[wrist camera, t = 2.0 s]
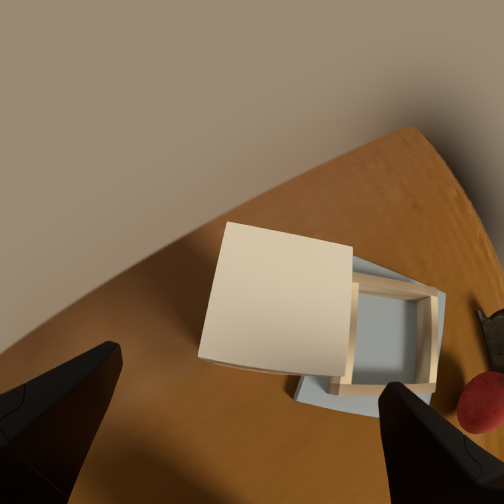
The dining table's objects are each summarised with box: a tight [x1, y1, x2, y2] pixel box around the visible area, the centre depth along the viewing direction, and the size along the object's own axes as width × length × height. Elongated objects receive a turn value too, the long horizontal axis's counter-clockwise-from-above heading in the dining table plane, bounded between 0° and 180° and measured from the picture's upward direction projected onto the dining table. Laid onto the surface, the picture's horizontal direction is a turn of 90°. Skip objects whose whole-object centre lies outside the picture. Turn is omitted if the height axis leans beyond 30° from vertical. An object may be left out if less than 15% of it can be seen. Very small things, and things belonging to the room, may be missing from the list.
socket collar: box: [327, 272, 438, 396], centre depth 18 cm, size 9×9×2 cm
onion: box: [457, 372, 504, 434], centre depth 14 cm, size 6×6×8 cm
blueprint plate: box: [293, 256, 446, 417], centre depth 19 cm, size 12×12×1 cm
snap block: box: [198, 222, 353, 377], centre depth 13 cm, size 4×4×12 cm
